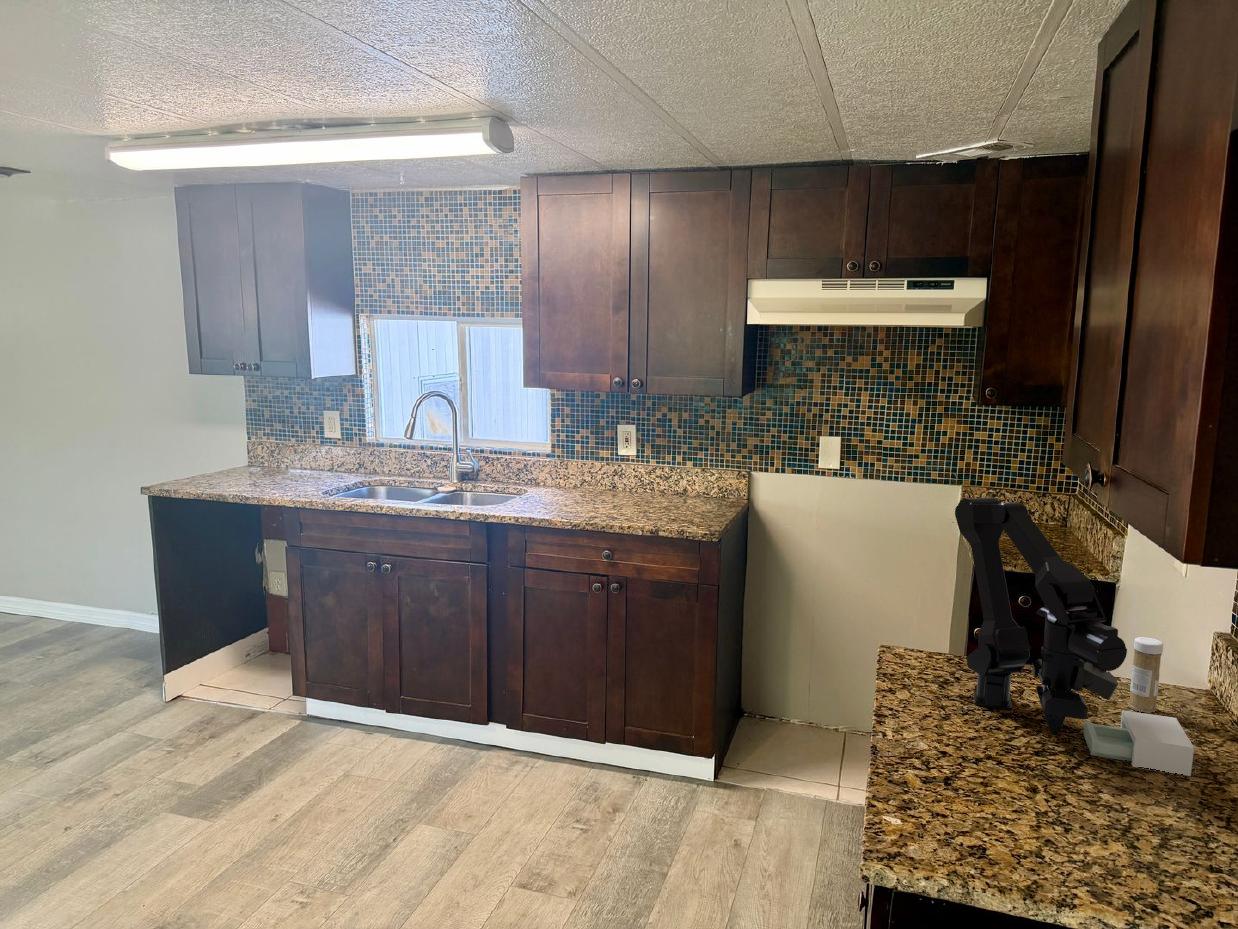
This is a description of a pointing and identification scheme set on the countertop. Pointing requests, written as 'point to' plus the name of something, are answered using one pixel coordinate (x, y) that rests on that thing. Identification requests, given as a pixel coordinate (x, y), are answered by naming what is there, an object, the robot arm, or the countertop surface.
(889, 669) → the countertop surface
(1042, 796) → the countertop surface
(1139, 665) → the sprinkles bottle
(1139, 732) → the low shelf
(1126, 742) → the tray shell
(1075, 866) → the countertop surface
